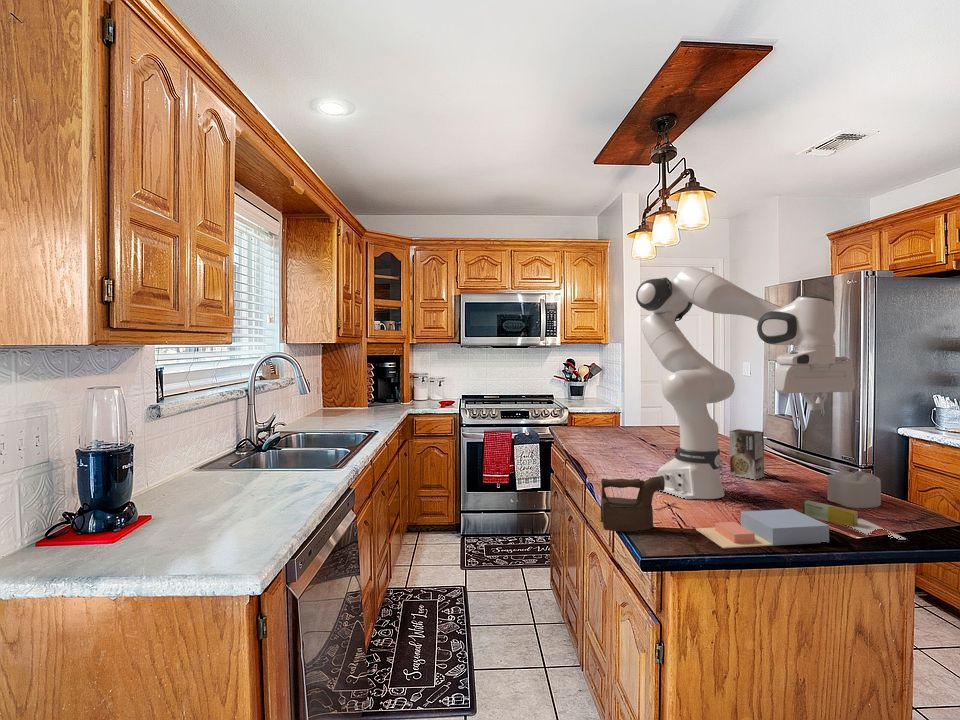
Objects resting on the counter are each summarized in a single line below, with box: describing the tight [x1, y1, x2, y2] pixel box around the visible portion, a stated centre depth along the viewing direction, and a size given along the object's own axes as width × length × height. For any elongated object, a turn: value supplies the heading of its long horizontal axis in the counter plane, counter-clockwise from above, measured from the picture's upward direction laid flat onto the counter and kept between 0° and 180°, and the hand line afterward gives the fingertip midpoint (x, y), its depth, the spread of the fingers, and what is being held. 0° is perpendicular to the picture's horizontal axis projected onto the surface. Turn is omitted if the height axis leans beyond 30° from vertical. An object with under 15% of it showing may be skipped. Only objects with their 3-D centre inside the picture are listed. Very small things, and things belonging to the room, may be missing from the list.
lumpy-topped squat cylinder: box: [826, 469, 882, 509], centre depth 146 cm, size 10×13×9 cm
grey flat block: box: [740, 508, 830, 547], centre depth 122 cm, size 14×12×4 cm
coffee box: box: [729, 428, 765, 481], centre depth 175 cm, size 9×6×16 cm
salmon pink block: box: [714, 521, 755, 543], centre depth 121 cm, size 5×8×2 cm, turn 6°
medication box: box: [802, 499, 859, 527], centre depth 131 cm, size 12×3×4 cm, turn 34°
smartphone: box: [846, 517, 908, 540], centre depth 124 cm, size 7×1×15 cm
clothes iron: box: [600, 476, 665, 532], centre depth 129 cm, size 8×16×13 cm, turn 79°
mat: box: [695, 526, 773, 549], centre depth 121 cm, size 12×12×1 cm
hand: (815, 409), depth 131 cm, fingers closed
